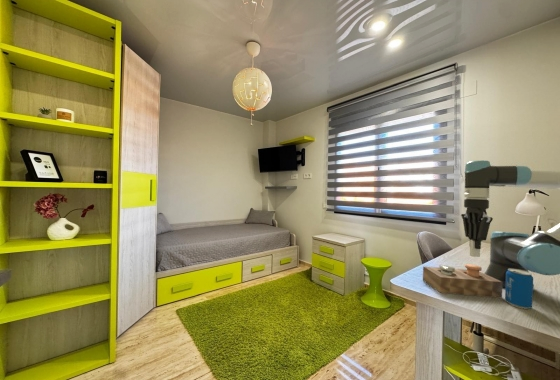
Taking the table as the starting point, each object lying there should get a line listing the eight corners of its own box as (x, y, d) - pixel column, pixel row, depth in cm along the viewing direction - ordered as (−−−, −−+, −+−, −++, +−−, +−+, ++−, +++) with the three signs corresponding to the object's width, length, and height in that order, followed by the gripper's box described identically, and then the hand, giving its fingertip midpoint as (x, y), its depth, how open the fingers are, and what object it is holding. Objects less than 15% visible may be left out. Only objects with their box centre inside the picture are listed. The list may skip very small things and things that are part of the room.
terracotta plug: (474, 281, 90) (474, 264, 90) (484, 287, 85) (485, 268, 85) (461, 280, 91) (462, 263, 91) (470, 285, 86) (471, 267, 86)
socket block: (476, 284, 93) (476, 270, 93) (501, 297, 81) (502, 282, 81) (422, 279, 95) (423, 266, 95) (440, 292, 83) (440, 277, 83)
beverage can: (499, 299, 80) (501, 267, 80) (517, 300, 79) (519, 268, 79) (518, 309, 73) (519, 274, 73) (538, 310, 73) (539, 275, 73)
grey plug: (448, 282, 91) (449, 265, 91) (457, 288, 86) (457, 269, 86) (436, 281, 92) (436, 264, 92) (443, 286, 87) (444, 268, 87)
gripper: (455, 197, 95) (453, 251, 95) (479, 198, 82) (477, 260, 82) (473, 198, 94) (472, 252, 94) (501, 199, 81) (499, 261, 81)
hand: (474, 256), depth 88 cm, fingers closed
